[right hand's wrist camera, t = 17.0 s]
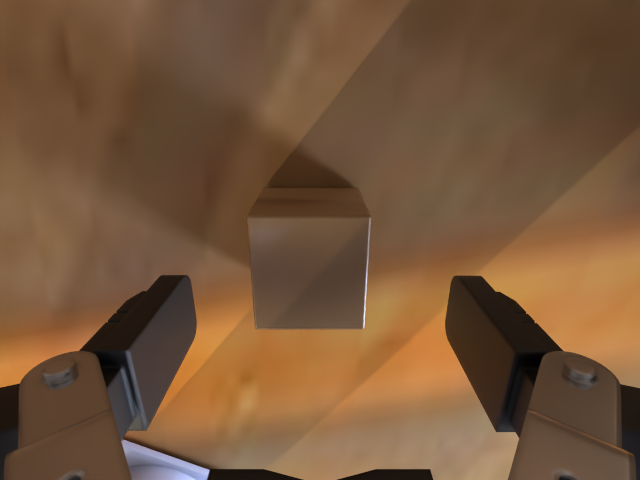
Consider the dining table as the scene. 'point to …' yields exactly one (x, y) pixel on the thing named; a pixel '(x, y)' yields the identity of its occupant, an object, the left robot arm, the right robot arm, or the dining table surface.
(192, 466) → the left robot arm
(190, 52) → the dining table surface
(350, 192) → the brown cube
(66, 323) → the dining table surface
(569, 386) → the right robot arm
